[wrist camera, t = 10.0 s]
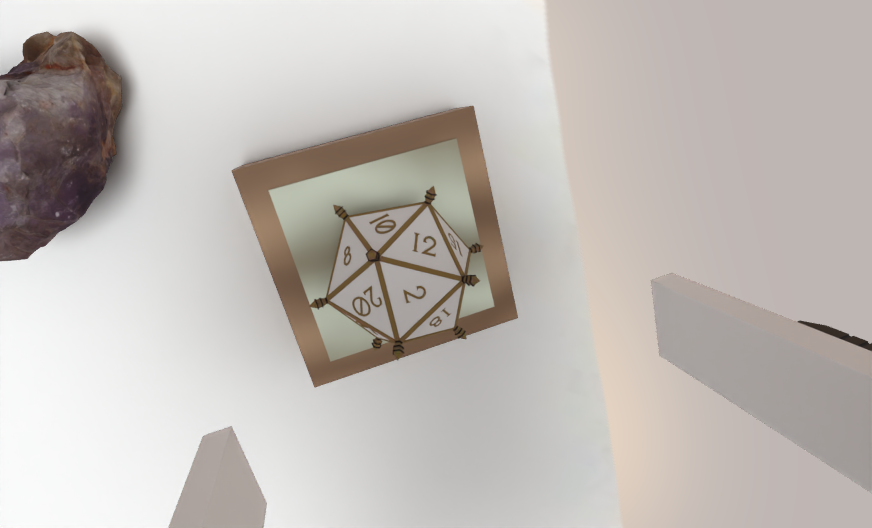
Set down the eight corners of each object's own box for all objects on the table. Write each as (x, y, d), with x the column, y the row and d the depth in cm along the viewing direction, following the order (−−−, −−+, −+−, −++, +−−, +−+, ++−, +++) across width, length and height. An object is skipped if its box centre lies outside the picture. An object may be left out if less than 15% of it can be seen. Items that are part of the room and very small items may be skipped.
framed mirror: (497, 298, 36) (519, 319, 32) (315, 359, 34) (314, 389, 30) (454, 108, 32) (474, 105, 28) (242, 165, 30) (230, 170, 26)
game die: (387, 269, 33) (376, 411, 27) (298, 191, 27) (257, 347, 21) (505, 221, 29) (525, 372, 23) (430, 119, 24) (430, 281, 17)
